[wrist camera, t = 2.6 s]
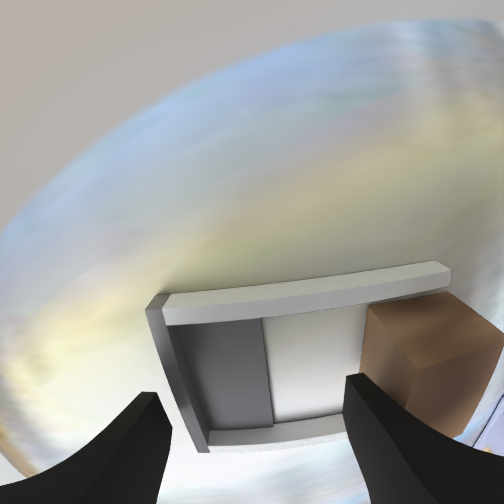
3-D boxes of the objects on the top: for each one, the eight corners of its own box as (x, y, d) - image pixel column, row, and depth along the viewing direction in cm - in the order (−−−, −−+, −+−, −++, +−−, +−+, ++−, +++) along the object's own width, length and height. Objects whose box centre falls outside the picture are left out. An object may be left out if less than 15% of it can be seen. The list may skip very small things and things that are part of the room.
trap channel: (434, 260, 9) (451, 269, 8) (407, 402, 11) (416, 417, 10) (155, 295, 10) (145, 310, 9) (201, 434, 12) (197, 452, 11)
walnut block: (447, 291, 10) (507, 335, 6) (425, 381, 11) (461, 433, 7) (367, 305, 10) (417, 369, 6) (354, 400, 11) (380, 465, 7)
